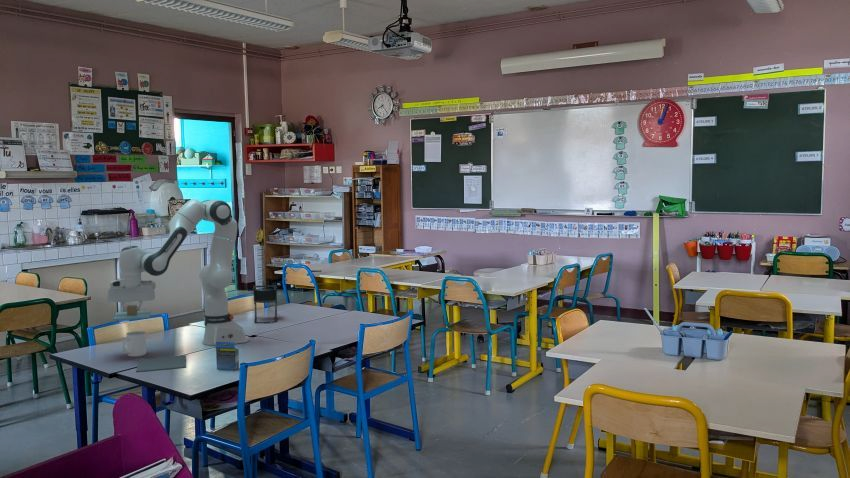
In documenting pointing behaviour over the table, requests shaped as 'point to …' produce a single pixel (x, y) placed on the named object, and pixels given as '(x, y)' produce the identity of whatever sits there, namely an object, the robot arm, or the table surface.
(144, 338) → the mug
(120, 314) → the lid
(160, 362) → the mat
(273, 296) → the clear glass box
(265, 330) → the table surface
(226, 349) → the label tape cartridge
